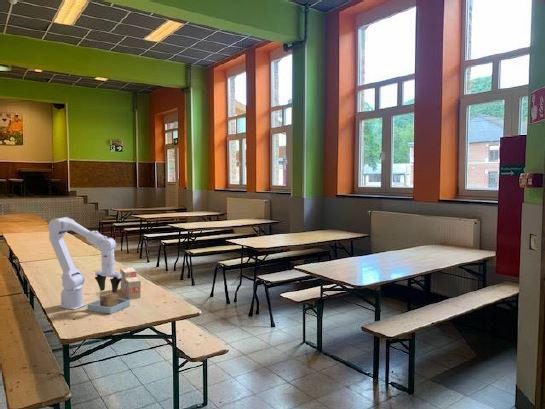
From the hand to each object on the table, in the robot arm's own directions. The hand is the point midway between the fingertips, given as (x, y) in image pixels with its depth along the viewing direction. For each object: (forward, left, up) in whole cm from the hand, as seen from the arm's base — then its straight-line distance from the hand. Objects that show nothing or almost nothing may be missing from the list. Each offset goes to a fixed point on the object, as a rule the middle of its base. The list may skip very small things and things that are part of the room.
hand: (108, 291), depth 202 cm
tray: (0, 0, -8) cm, 8 cm away
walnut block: (0, 0, -8) cm, 8 cm away
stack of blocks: (-7, +24, -9) cm, 26 cm away
